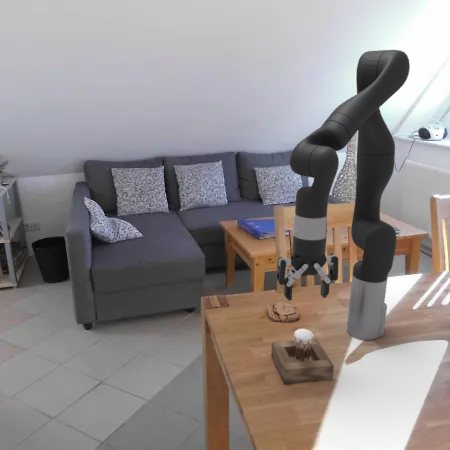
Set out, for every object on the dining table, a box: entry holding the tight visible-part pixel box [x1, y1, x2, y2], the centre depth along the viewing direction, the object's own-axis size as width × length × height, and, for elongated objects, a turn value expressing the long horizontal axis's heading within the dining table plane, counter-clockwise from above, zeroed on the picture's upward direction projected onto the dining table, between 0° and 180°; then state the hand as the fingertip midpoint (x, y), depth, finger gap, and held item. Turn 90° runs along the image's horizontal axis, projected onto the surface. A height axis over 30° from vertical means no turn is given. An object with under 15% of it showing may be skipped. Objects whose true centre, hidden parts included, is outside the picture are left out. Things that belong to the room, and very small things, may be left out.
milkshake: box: [293, 328, 318, 362], centre depth 120 cm, size 4×5×10 cm
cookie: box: [265, 301, 301, 324], centre depth 147 cm, size 10×11×3 cm
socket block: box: [270, 338, 335, 385], centre depth 121 cm, size 12×12×4 cm
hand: (306, 297), depth 115 cm, fingers open, 8 cm apart
